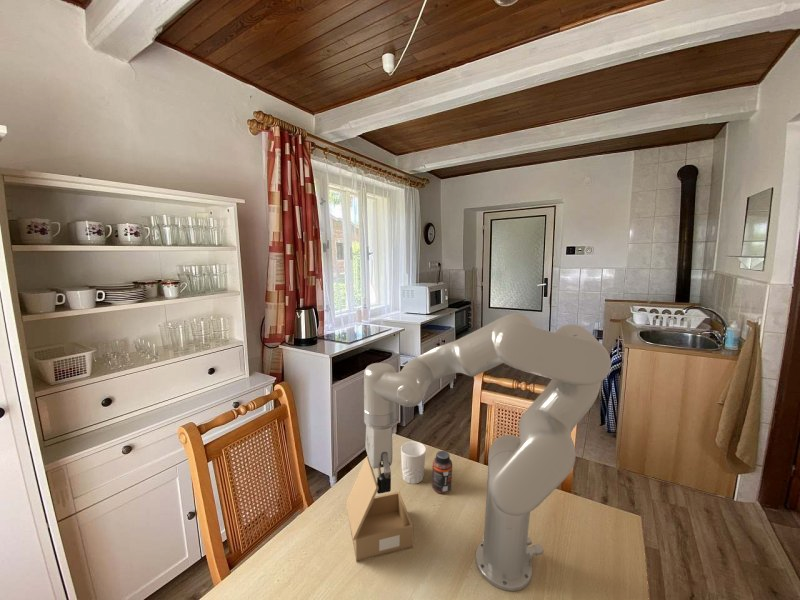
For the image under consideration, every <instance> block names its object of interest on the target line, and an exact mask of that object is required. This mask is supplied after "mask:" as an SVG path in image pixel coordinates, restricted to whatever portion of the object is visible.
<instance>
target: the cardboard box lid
mask: <svg viewBox="0 0 800 600" xmlns="http://www.w3.org/2000/svg"><path fill="white" fill-rule="evenodd" d="M377 491H378V485H377V477H376V475H375V473H374V470H373V468H372V467H371V464H370V461H369V458H368V456H366V457H365V458H364V461H363V463H362V466H361V468H360V470H359V473H358V475H357V477H356V479H355V482H354V484H353V486H352V488H351V491H350V493H349V494H348V498H347V499H346V507H347V513H348V521H349V520H350V522H349V527H350V526H351V528H350V532H351V531H352V534H351V538H352V537H353V539H352V541H353V540H355V539H356V537H357V535H358V533H359V531H360V528H361V526H362V524H363V522H364V520H365V517H366V515H367V513H368V511H369V508H370V506H371V504H372V502H373V500H374V497H376V495H377V494H378V493H377Z"/></svg>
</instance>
